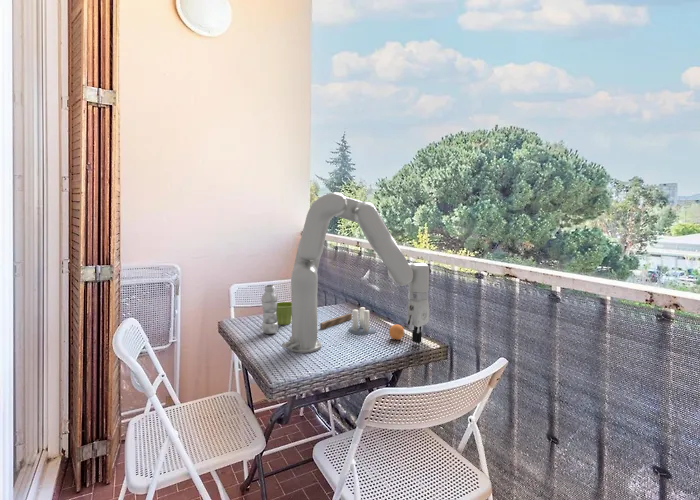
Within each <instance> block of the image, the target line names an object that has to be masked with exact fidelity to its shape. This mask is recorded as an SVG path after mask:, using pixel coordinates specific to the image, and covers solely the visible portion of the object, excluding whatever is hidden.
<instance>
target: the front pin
mask: <svg viewBox="0 0 700 500" xmlns="http://www.w3.org/2000/svg"><path fill="white" fill-rule="evenodd" d="M369 326H370V310H369V309H365V310H364V322H363V331H364V332H368V331H369Z"/></svg>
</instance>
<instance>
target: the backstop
mask: <svg viewBox="0 0 700 500" xmlns="http://www.w3.org/2000/svg"><path fill="white" fill-rule="evenodd" d="M352 318H353V313H345V314H343V315H340V316H337V317H334V318H331V319H328V320H326V321H323V322H320V323H319V328H320V330H325V329H328V328H331V327H333V326H335V325H339V324H341V323H344V322H347V321H350V320H352Z"/></svg>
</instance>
